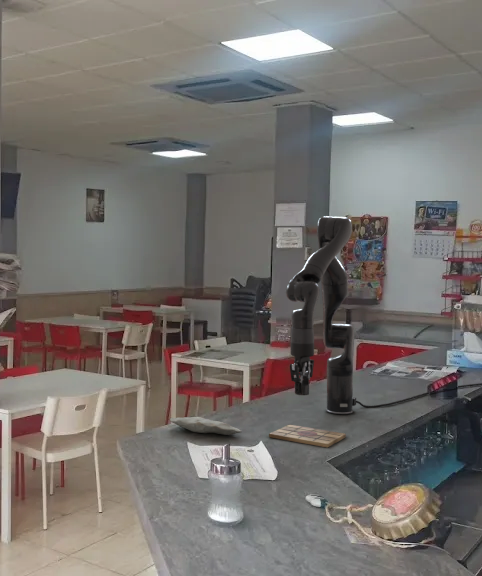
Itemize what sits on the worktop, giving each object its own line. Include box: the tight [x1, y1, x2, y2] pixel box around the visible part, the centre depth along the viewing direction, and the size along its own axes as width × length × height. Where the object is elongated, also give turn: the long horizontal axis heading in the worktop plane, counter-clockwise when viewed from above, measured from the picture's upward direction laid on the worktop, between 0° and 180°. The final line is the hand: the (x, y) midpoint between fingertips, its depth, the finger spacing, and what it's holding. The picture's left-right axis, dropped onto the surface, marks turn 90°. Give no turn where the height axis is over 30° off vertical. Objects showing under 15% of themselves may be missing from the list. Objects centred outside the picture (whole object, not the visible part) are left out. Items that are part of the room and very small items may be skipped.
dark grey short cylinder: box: [294, 383, 310, 396], centre depth 237 cm, size 5×5×3 cm
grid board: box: [268, 424, 347, 448], centre depth 235 cm, size 15×20×1 cm
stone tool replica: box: [169, 416, 243, 436], centre depth 241 cm, size 15×5×25 cm
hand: (301, 392), depth 237 cm, fingers closed on dark grey short cylinder, 4 cm apart
